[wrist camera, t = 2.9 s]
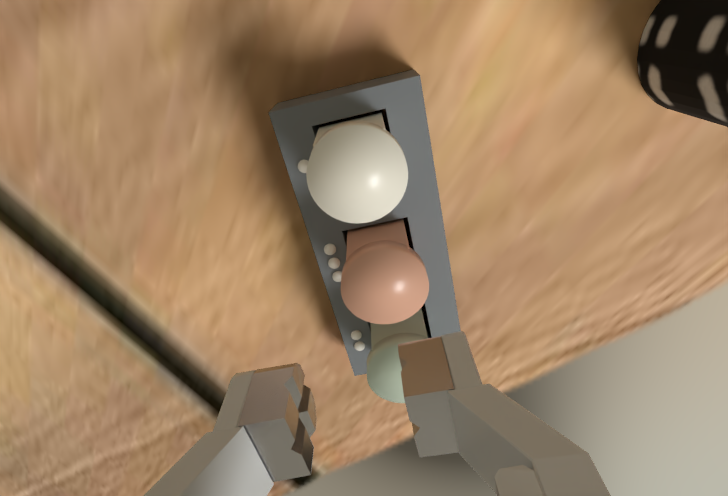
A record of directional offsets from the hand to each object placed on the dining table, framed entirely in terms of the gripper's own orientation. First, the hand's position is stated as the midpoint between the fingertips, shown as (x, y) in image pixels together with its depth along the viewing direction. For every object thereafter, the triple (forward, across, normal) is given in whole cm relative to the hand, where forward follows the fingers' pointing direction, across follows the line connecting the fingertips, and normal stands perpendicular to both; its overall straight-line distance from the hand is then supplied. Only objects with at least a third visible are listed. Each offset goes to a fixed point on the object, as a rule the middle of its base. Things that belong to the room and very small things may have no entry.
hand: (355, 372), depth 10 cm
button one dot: (+19, 0, 0) cm, 19 cm away
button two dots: (+19, 0, +14) cm, 23 cm away
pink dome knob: (+19, 0, +7) cm, 20 cm away
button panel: (+21, 0, +7) cm, 22 cm away
